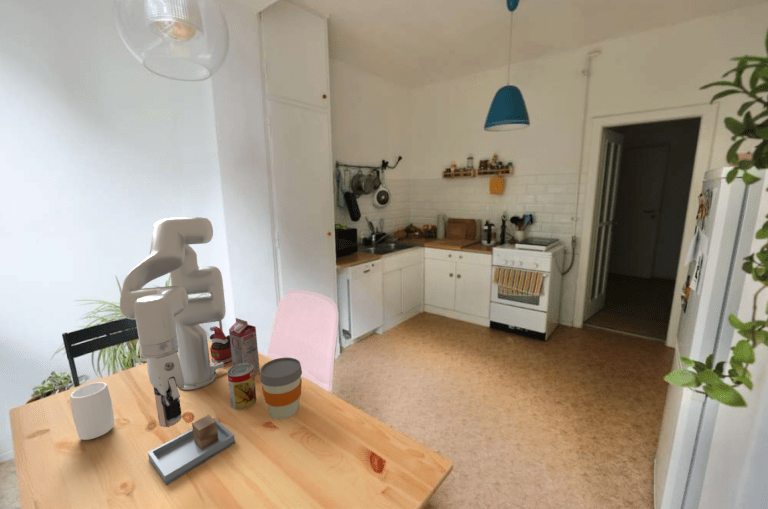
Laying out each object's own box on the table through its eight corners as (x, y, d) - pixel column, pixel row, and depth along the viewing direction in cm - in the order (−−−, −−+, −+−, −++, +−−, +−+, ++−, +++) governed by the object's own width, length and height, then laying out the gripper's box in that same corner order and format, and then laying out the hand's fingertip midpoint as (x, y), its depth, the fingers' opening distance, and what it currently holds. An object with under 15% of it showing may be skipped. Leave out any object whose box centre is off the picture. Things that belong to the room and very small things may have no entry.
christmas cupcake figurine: (242, 355, 142) (238, 315, 139) (228, 366, 133) (223, 324, 130) (221, 352, 144) (216, 313, 141) (205, 363, 136) (200, 321, 132)
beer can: (171, 429, 81) (164, 385, 79) (154, 427, 82) (147, 383, 80) (186, 417, 86) (180, 374, 84) (170, 414, 87) (164, 372, 85)
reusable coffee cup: (265, 428, 98) (261, 382, 95) (261, 403, 109) (258, 362, 106) (307, 416, 103) (305, 372, 100) (300, 394, 114) (297, 353, 111)
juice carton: (244, 380, 123) (239, 324, 119) (233, 374, 127) (228, 320, 122) (259, 371, 129) (254, 318, 124) (248, 367, 132) (243, 315, 128)
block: (211, 433, 95) (208, 414, 94) (218, 440, 92) (216, 421, 91) (194, 442, 92) (191, 423, 90) (201, 450, 89) (199, 430, 88)
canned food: (260, 401, 110) (257, 368, 108) (237, 413, 105) (233, 378, 102) (249, 392, 116) (246, 360, 113) (226, 402, 110) (223, 369, 108)
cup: (123, 427, 99) (115, 384, 96) (90, 447, 91) (81, 401, 89) (103, 421, 102) (95, 379, 99) (71, 440, 94) (61, 395, 91)
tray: (215, 424, 100) (214, 417, 99) (235, 443, 92) (234, 435, 92) (149, 460, 87) (147, 452, 86) (166, 485, 79) (164, 476, 79)
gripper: (190, 349, 78) (200, 418, 81) (164, 331, 88) (173, 393, 92) (154, 362, 72) (165, 436, 75) (130, 341, 83) (141, 406, 86)
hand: (169, 411), depth 84 cm, fingers closed on beer can, 4 cm apart
